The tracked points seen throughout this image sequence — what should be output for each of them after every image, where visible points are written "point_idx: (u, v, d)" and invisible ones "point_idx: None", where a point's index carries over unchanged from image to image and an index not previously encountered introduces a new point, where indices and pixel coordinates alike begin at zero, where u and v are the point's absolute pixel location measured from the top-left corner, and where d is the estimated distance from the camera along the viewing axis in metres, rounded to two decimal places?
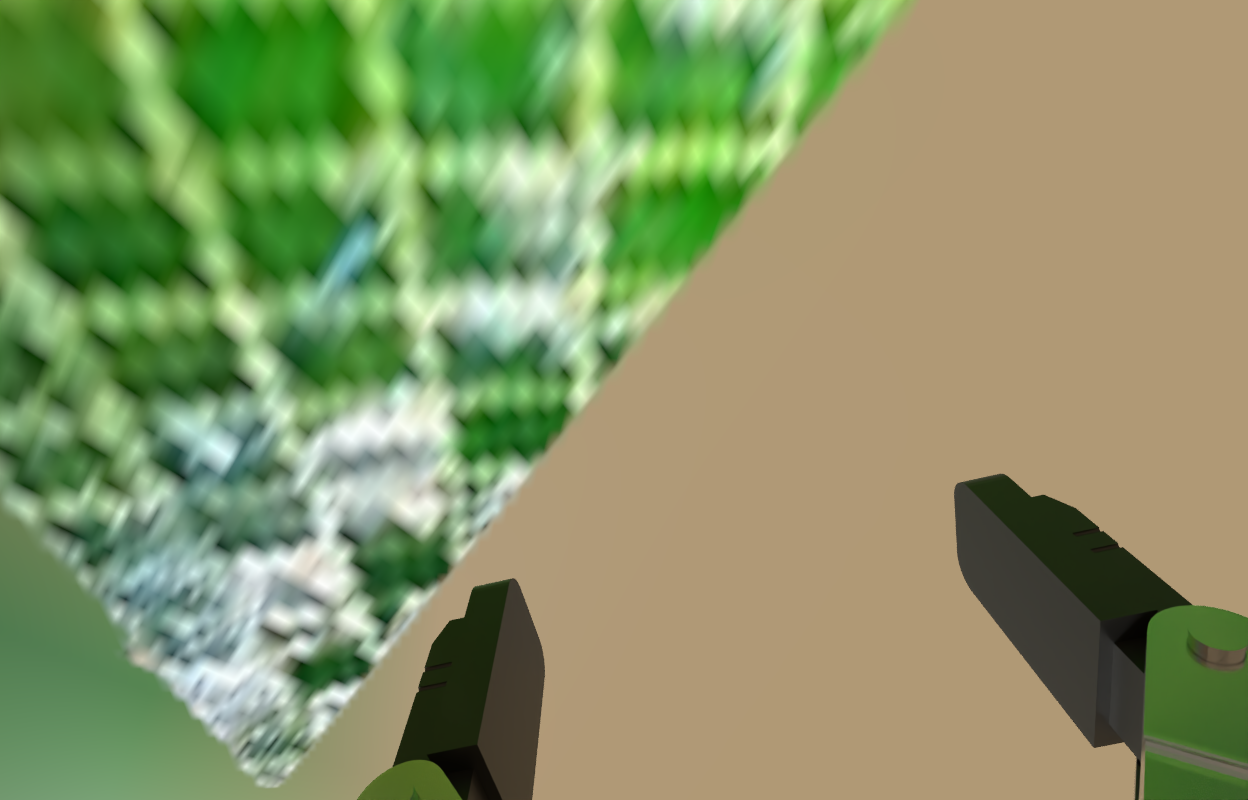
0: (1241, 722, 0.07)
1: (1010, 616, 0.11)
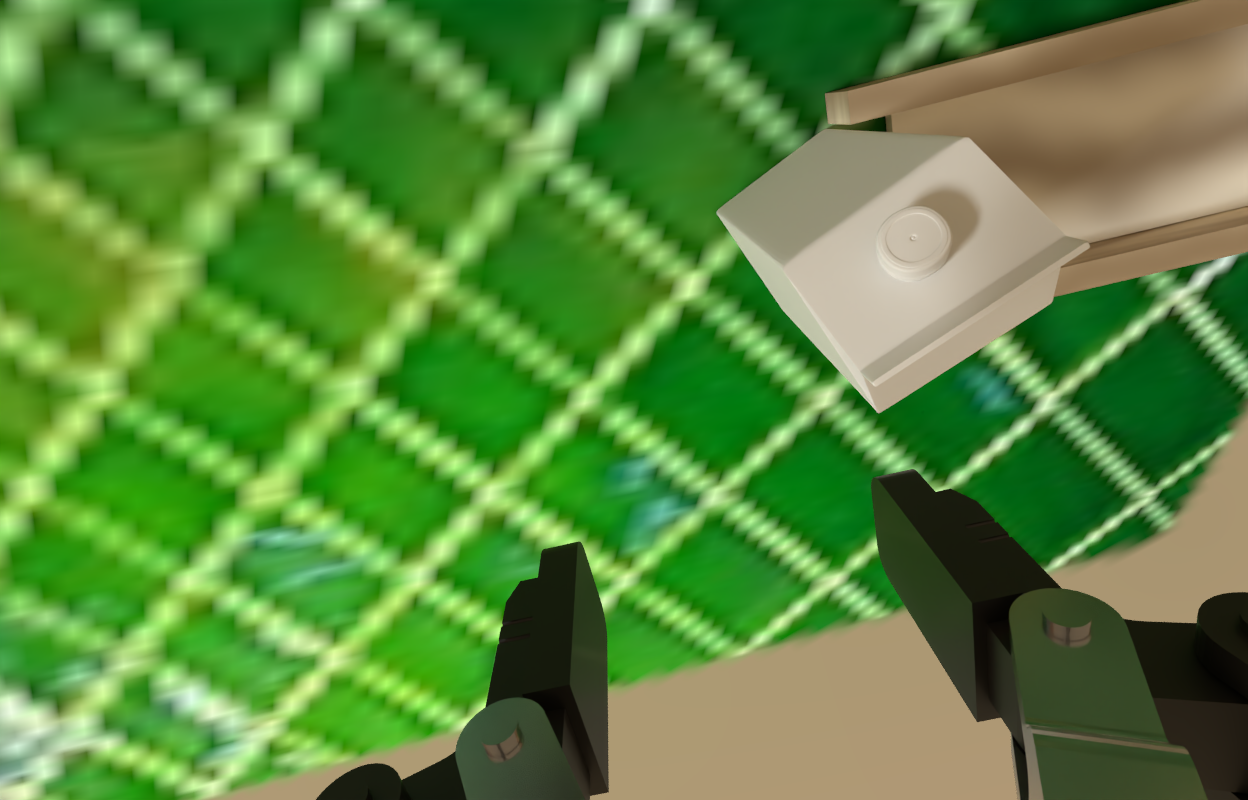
0: (1101, 693, 0.07)
1: (915, 602, 0.11)
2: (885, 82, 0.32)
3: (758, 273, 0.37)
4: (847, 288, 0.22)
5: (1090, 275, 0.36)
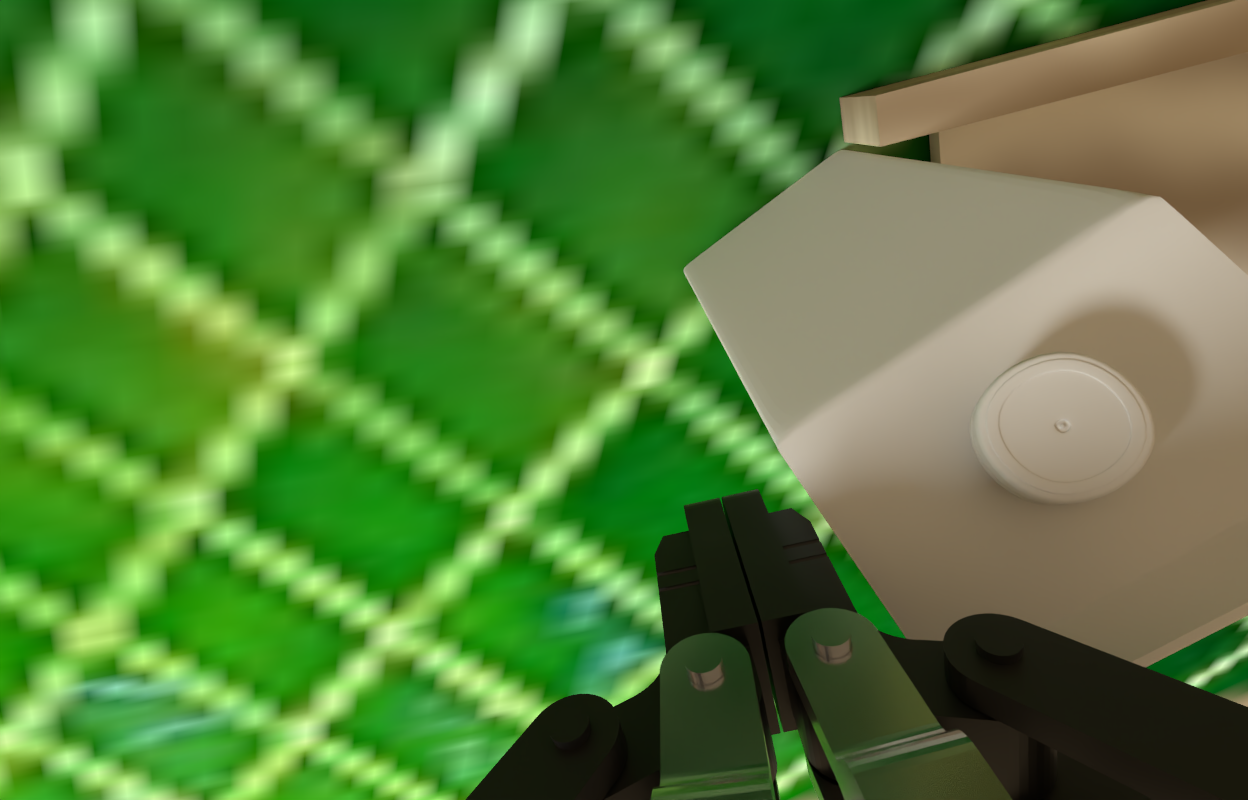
0: (880, 700, 0.08)
1: None
2: (935, 81, 0.20)
3: None
4: (908, 502, 0.11)
5: None
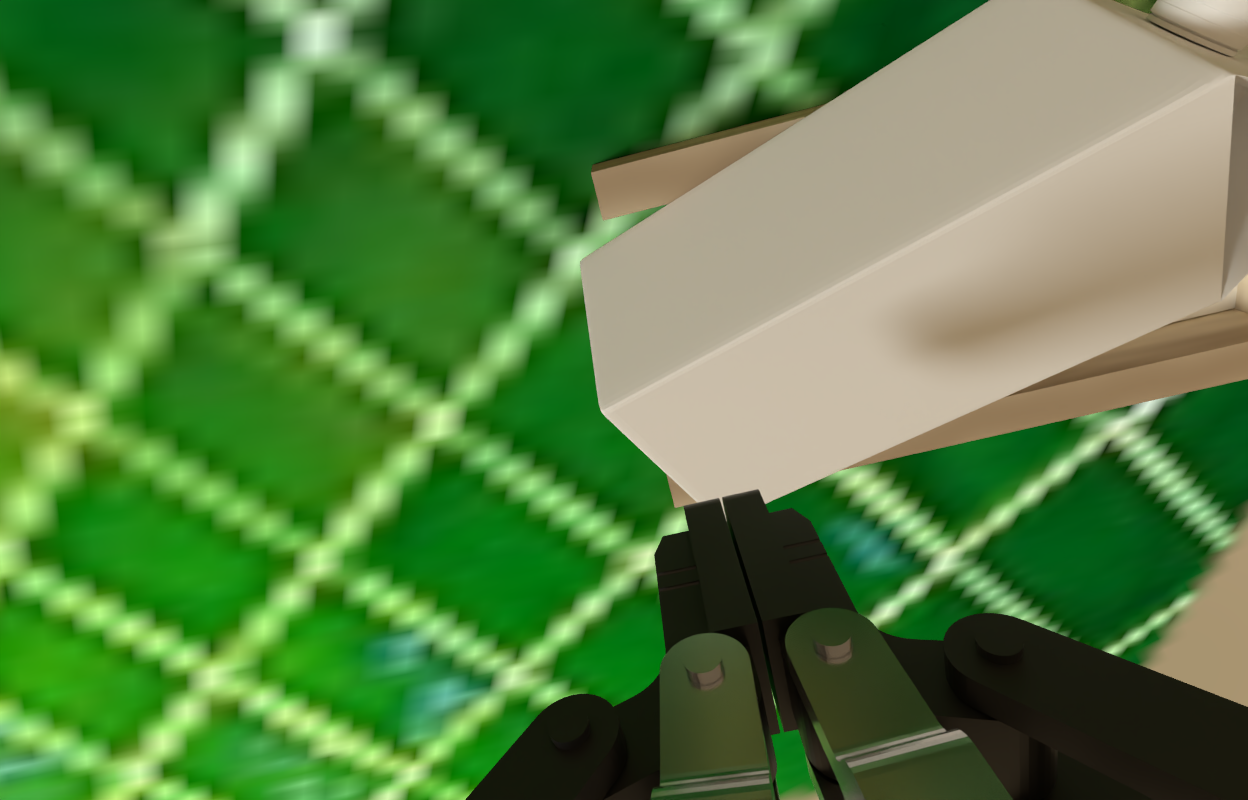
0: (880, 700, 0.08)
1: None
2: (647, 159, 0.21)
3: (706, 468, 0.20)
4: None
5: (979, 422, 0.25)
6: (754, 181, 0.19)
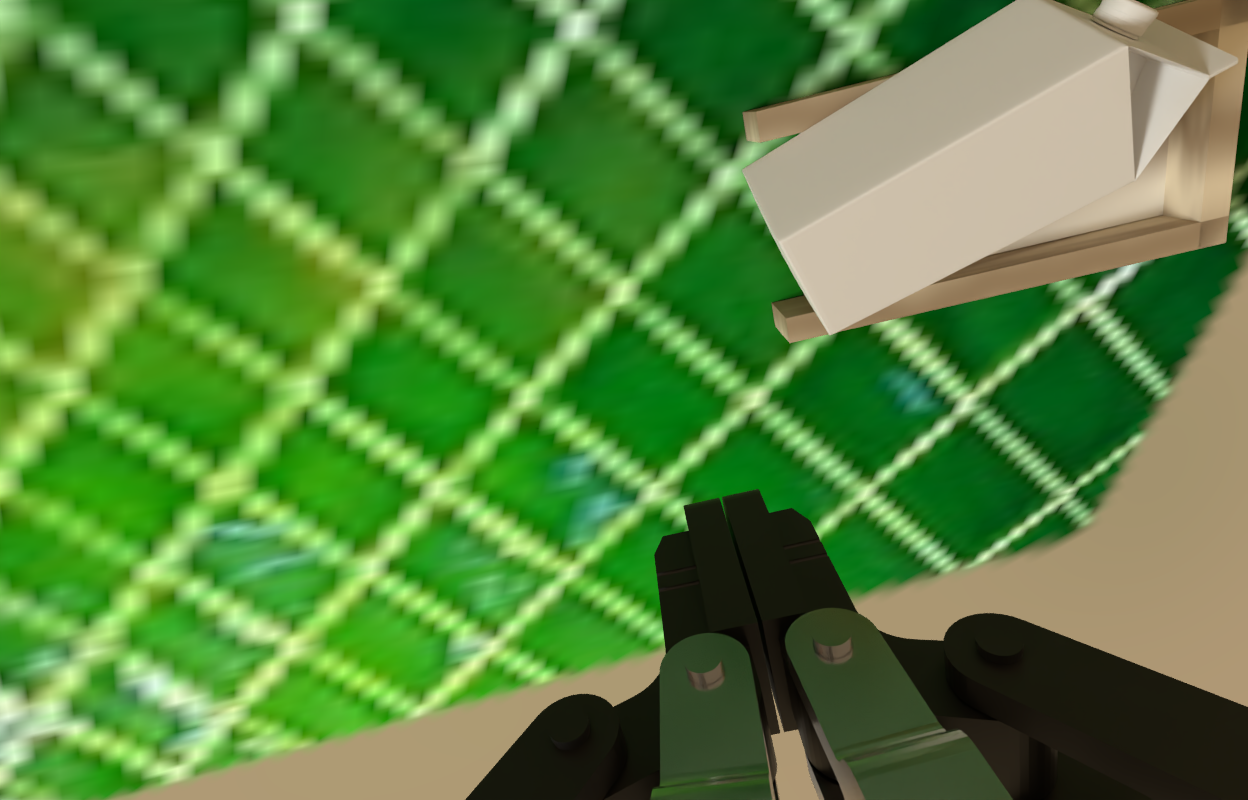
0: (880, 700, 0.08)
1: None
2: (791, 103, 0.34)
3: (830, 288, 0.33)
4: (1144, 46, 0.27)
5: (992, 284, 0.38)
6: (861, 114, 0.32)
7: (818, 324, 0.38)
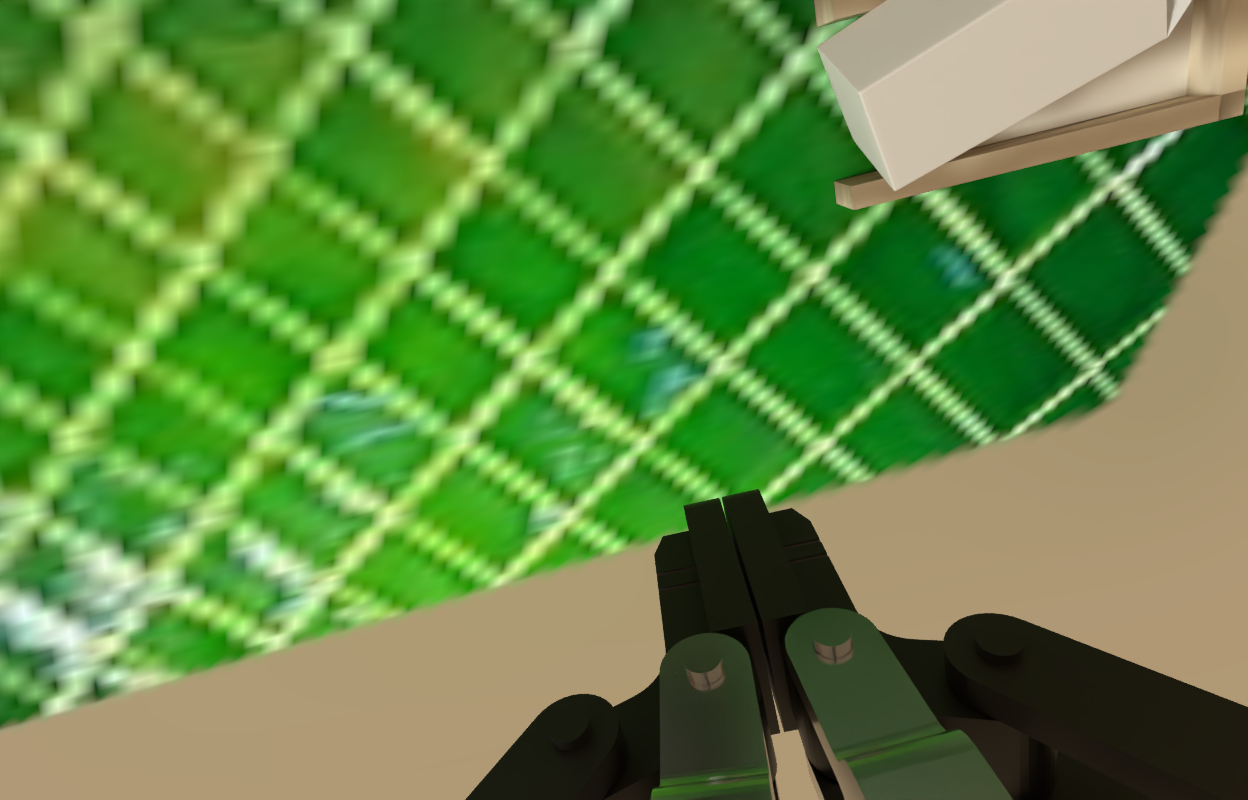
0: (880, 700, 0.08)
1: None
2: None
3: (899, 141, 0.38)
4: None
5: (1035, 154, 0.43)
6: None
7: (880, 191, 0.43)
